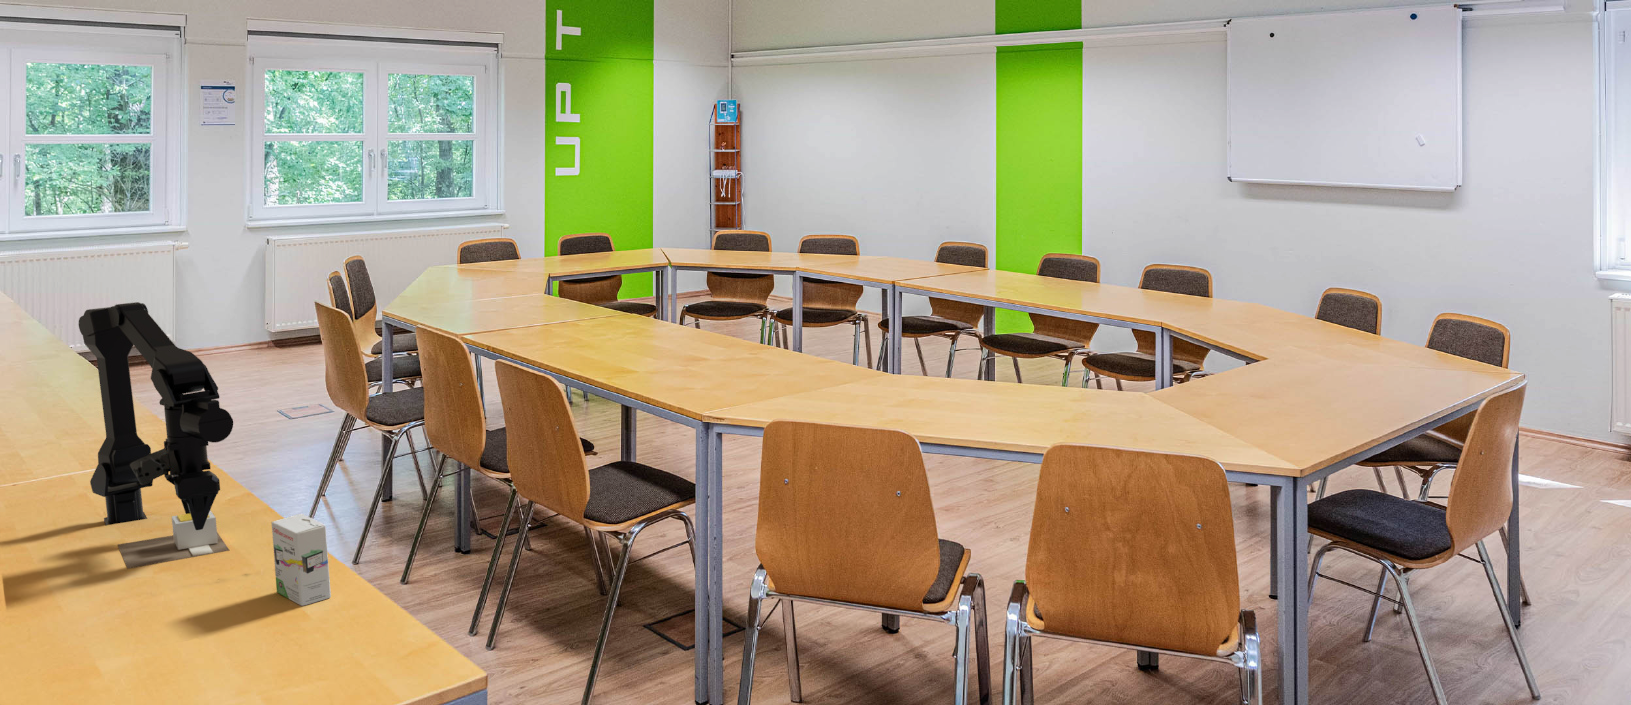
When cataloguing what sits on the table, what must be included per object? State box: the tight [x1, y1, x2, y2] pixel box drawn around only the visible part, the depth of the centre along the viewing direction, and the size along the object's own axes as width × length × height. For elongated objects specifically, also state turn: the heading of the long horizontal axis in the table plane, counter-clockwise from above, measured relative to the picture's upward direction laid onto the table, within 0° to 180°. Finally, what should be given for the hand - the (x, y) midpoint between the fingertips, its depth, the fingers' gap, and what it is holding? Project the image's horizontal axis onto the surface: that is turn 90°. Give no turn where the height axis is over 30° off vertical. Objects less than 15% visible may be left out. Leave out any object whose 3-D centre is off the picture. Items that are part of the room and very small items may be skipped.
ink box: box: [271, 513, 332, 607], centre depth 183 cm, size 8×5×12 cm, turn 49°
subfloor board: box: [117, 532, 230, 570], centre depth 202 cm, size 14×15×1 cm
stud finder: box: [171, 509, 218, 550], centre depth 203 cm, size 5×6×5 cm
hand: (194, 522), depth 203 cm, fingers open, 9 cm apart
